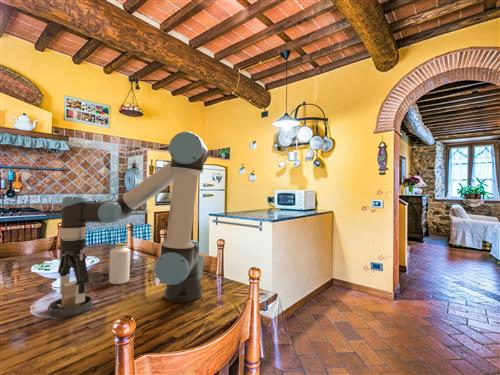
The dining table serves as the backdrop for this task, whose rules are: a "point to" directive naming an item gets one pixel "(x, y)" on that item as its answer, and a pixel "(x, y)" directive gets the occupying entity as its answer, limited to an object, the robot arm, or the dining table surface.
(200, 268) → the cup
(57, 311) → the tin
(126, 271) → the potion bottle
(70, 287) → the tan rectangular block
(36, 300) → the dining table surface
